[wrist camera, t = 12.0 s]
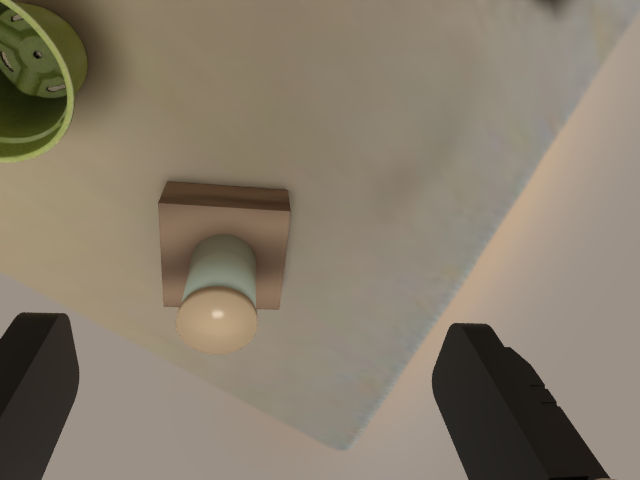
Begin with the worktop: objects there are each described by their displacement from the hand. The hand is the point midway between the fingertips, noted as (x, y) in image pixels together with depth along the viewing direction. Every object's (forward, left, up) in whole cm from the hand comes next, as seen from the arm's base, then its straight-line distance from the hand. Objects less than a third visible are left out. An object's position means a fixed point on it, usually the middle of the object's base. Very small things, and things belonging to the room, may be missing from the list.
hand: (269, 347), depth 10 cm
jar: (+14, -2, -24) cm, 28 cm away
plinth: (+14, -2, -28) cm, 31 cm away
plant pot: (0, -15, -28) cm, 32 cm away
